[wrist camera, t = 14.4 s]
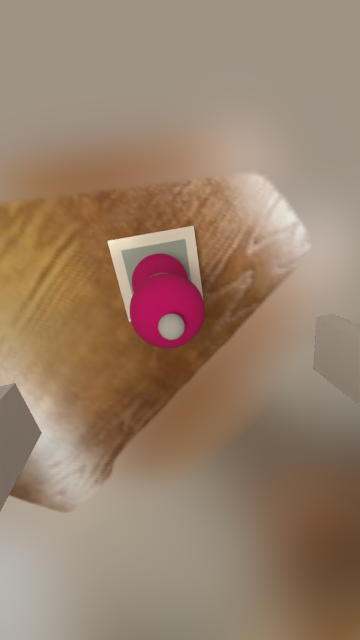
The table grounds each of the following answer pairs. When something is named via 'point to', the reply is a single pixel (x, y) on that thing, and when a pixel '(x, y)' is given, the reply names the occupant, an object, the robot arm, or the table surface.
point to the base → (164, 242)
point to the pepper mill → (165, 302)
